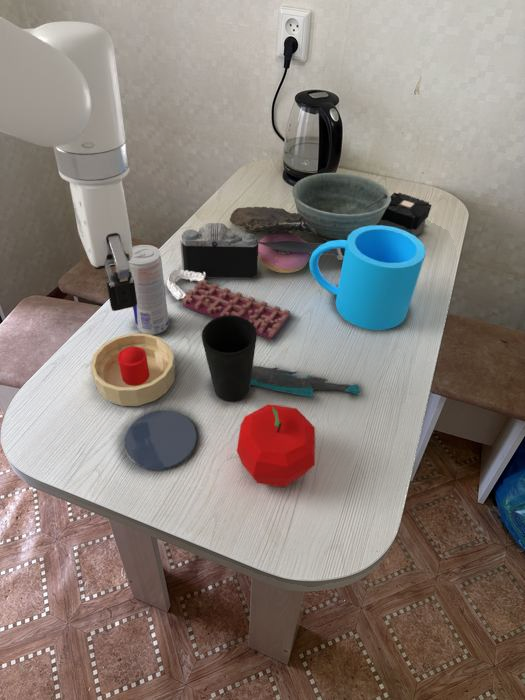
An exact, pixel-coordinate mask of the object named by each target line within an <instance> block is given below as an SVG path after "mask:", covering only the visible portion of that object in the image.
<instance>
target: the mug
mask: <svg viewBox="0 0 525 700" xmlns="http://www.w3.org/2000/svg"><path fill="white" fill-rule="evenodd" d="M321 244H322V245H320V246H319V247H318V248H317V249H316V250H314V251H313V253H311V254H310V258H309V260H308V263H309V271H310V273H311V275H312V277H313V279H314V280H315V281H316V283H317V284H318V285H319V286H320V287H321V288H323V289H324V290H326V291H327V292H328V293H330V294H332V295H334V296H336V299H335V306H336V310H337V312H338V313H339V315H340V316H341V317H342V318H343V319H344V320H345V321H346V322H348V323H349V324H352V325H354V326H357V327H359V328H361V329H368V330H373V331H385V330H389V329H393V328H396V327H398V326H399V325H401V324H402V323H403V322H404V320H405V319H406V317H407V316H408V311H409V309H410V305H411V302H412V299H413V295H414V293H415V289H416V287H417V283H418V279H419V277H420V273H421V270H422V267H423V265H424V261H425V258H426V247H425V245H424V243H423V242H422V240H420V239H419V238H418V237H417V236H416V235H415V236H414V235H412V234H410V233H408V232H406V231H404V230H401V229H398V228H395V227H389V226H383V225H380V224H379V225H377V224H376V225H370V226H365V227H360V228H358V229H356V230H354V231H352V232H351V234H350V235H349V236H348V238H347V240H335V241H327V242H325V243H321ZM337 248H345V254H344V256H343V257H344V259H343V260H342V266H341V271H340V277H339V282H338V286H337V285H335V284H333V283H332V282H330V281H329V280H328V279H327V278H326V277H325V276H324V275H323V274H322V272H321V270H320V268H319V260H320V257H321V256H322V255H324V254H323V253H324V252H325V251H328V250H330V249H337Z"/></svg>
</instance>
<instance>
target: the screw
mask: <svg viewBox="0 0 525 700" xmlns="http://www.w3.org/2000/svg"><path fill="white" fill-rule="evenodd" d="M384 198H385V199H387V198H388V196H387V194H384V195H383V197H382V198H380V199H379V200H377V201H375V202H373V203H372V204H370V205H368V206H367V207H365V208H364V209H366V208H368V207H370V206H372V205H373V204H375V203H377V202H378V201H380V200H382V199H384Z"/></svg>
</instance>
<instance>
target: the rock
mask: <svg viewBox="0 0 525 700" xmlns="http://www.w3.org/2000/svg"><path fill="white" fill-rule="evenodd" d="M229 222H230V223H231V224H232V225H234V226H237V227H241V228H242V229H244V230H249V231H250V230H251V231H255V232H261V231H264V232H272V233H273V232H276V233H280V234H286V233H289V232H290V233H291V232H298V231H299V232H301V233H311V234H313V235H315V234H316V231H315V228H313V227H312V224H311V223H309V222H308V220H307V219H305V218H304V217H303V216H301V214H299V213H298V212H289V211H287V210H286V209H284V208H281V207H280V208H278V207H271V206H270V207H267V206H261V207H260V206H247V207H237V208H235V209H234V210H232V213H231V215H230V217H229Z"/></svg>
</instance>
